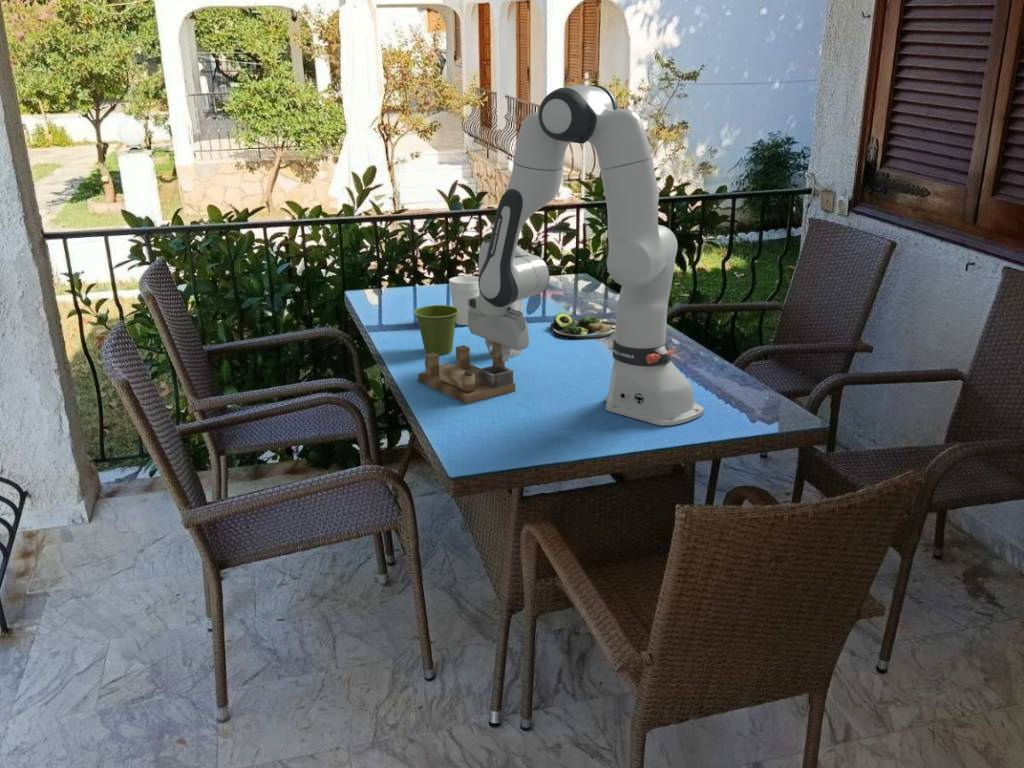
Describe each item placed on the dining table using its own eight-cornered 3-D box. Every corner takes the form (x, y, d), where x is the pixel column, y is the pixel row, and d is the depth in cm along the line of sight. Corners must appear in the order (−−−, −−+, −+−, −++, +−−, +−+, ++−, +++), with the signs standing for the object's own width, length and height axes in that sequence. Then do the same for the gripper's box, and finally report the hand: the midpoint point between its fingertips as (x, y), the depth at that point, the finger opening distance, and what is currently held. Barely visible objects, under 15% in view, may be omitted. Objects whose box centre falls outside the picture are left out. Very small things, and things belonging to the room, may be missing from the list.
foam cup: (475, 328, 266) (474, 284, 261) (445, 326, 269) (444, 282, 264) (486, 320, 274) (485, 276, 270) (457, 317, 277) (456, 275, 273)
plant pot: (425, 343, 252) (423, 303, 249) (466, 347, 249) (465, 306, 245) (408, 356, 242) (406, 314, 238) (451, 360, 238) (449, 318, 235)
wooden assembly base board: (515, 391, 216) (515, 362, 214) (466, 404, 208) (465, 375, 206) (465, 369, 231) (465, 343, 229) (418, 381, 223) (417, 354, 221)
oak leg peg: (507, 373, 228) (506, 338, 225) (497, 375, 227) (497, 340, 224) (499, 370, 231) (499, 335, 228) (490, 372, 229) (489, 337, 226)
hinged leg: (478, 389, 210) (477, 372, 209) (467, 392, 208) (466, 375, 207) (449, 376, 219) (448, 360, 217) (438, 379, 217) (437, 362, 216)
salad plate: (611, 321, 273) (611, 306, 271) (626, 338, 256) (626, 322, 255) (546, 324, 271) (546, 309, 269) (557, 342, 254) (557, 325, 252)
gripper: (535, 310, 217) (535, 366, 221) (483, 294, 232) (484, 347, 237) (514, 315, 213) (514, 372, 218) (462, 298, 228) (464, 351, 233)
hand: (498, 358), depth 227 cm, fingers closed on oak leg peg, 3 cm apart
